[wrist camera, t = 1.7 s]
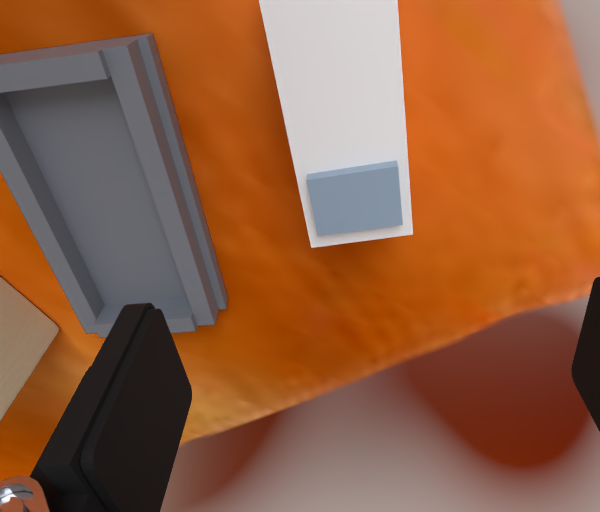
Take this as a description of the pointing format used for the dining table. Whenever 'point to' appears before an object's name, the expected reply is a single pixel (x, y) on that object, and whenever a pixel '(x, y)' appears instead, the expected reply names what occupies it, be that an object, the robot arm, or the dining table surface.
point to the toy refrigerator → (20, 342)
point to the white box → (343, 114)
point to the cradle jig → (108, 181)
